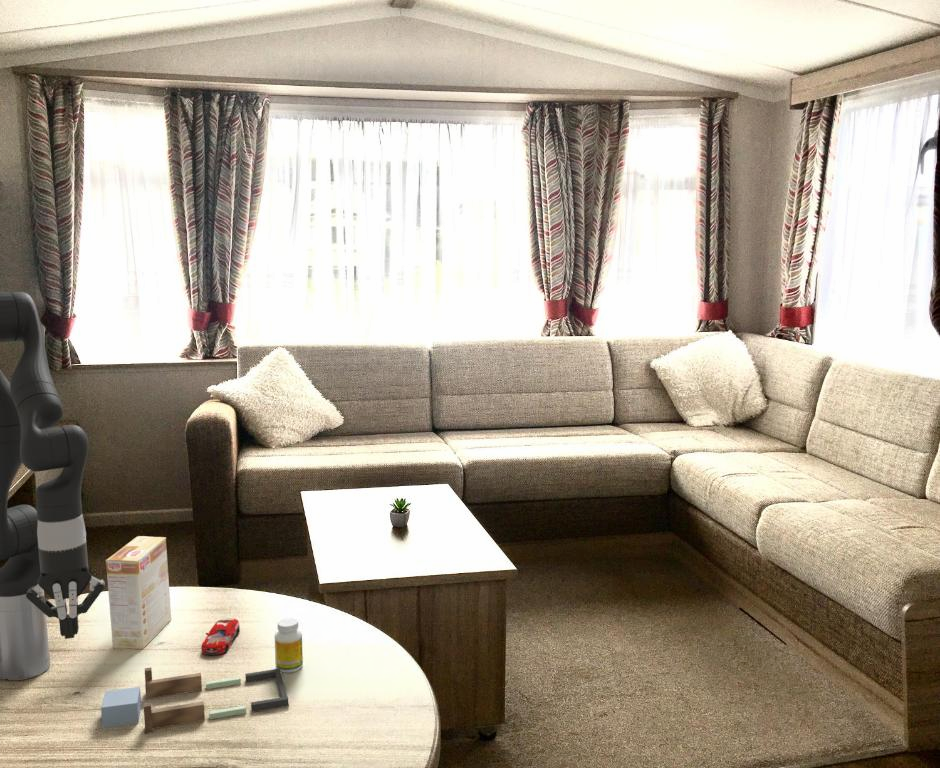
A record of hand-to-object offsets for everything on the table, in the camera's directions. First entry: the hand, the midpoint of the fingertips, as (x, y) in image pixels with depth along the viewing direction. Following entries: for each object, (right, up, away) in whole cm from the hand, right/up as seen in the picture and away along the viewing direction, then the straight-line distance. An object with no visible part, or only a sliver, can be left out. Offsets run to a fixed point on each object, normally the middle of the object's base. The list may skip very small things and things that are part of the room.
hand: (70, 636), depth 158 cm
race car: (+17, -11, +35) cm, 40 cm away
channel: (+16, -15, +8) cm, 23 cm away
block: (+7, -16, +5) cm, 18 cm away
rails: (+24, -15, +11) cm, 30 cm away
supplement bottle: (+34, -13, +23) cm, 43 cm away
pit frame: (+31, -14, +13) cm, 36 cm away
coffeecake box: (-1, -10, +39) cm, 40 cm away
